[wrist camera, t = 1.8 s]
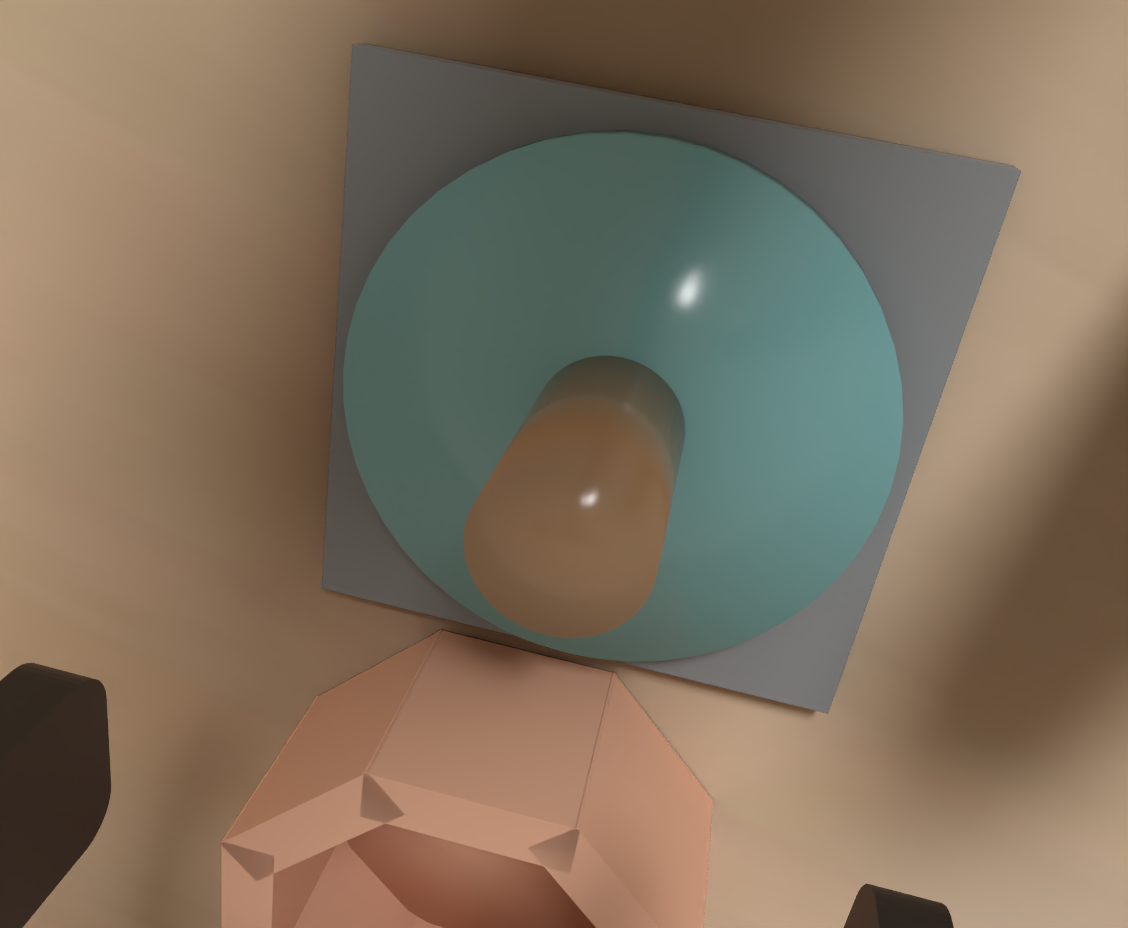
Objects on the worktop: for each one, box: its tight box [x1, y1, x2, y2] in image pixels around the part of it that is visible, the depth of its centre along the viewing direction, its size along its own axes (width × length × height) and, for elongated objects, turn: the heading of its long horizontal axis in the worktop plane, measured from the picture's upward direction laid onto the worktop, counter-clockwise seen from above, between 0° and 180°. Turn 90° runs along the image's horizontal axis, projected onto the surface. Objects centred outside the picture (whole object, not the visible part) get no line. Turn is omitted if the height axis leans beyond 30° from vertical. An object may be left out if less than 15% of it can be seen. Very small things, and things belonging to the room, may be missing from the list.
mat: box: [322, 44, 1021, 714], centre depth 20 cm, size 12×12×1 cm
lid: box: [343, 130, 903, 662], centre depth 18 cm, size 11×11×6 cm
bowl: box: [220, 629, 713, 928], centre depth 24 cm, size 10×10×5 cm
